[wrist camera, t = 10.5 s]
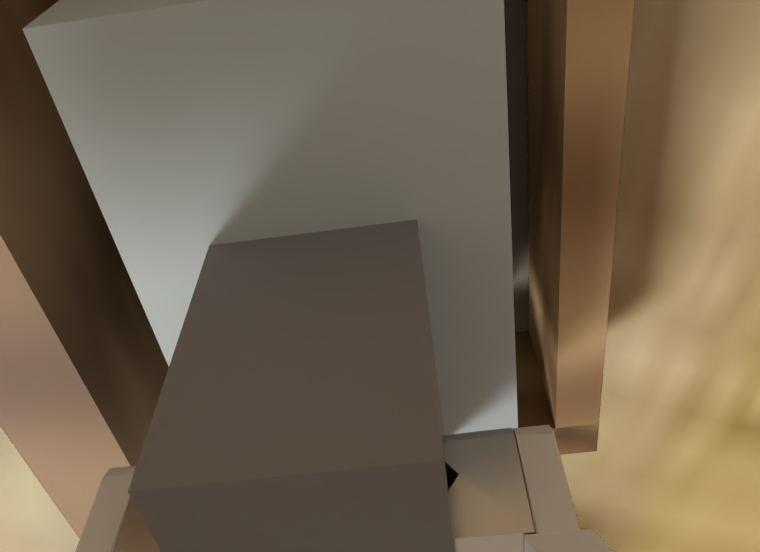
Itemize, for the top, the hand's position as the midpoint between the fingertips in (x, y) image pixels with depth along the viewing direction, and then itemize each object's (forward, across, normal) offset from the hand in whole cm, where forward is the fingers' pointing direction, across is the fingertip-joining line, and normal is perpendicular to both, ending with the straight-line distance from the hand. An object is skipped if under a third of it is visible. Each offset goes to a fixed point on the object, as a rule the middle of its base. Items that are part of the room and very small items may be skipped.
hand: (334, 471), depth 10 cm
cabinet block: (+10, 0, 0) cm, 11 cm away
